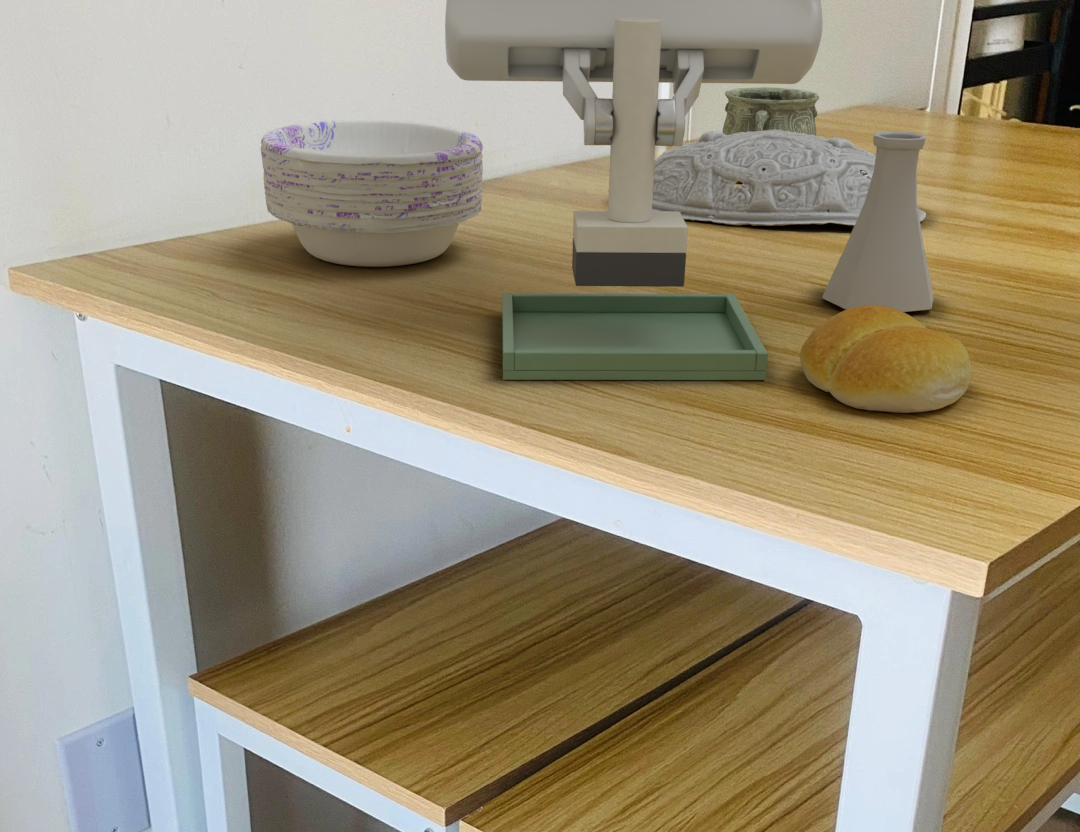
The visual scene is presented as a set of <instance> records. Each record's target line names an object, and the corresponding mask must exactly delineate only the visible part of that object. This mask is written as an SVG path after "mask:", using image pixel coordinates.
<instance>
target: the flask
mask: <svg viewBox="0 0 1080 832" xmlns="http://www.w3.org/2000/svg"><path fill="white" fill-rule="evenodd" d="M926 140H927V135H926V134H921V133H917V132H913V131H897V130H892V131H891V130H890V131H876V132H874V134H873V138H872V142H873V146H874V147H876V148H875V149H876V152H875V155H876V159H875V166H874V172H873V175H872V179H871V182H870V186H869V189H868V193H867V196H866V200H865V203H864V205H863V207H862V210H861V212H860V214H859V217H858V219H857V221H856V224H855V225H854V226H853V228H852V230H851V233H850V236H849V238H848V239H847V242H846V244H845V247H844V249H843V250H842V253H841V255H840V257H839V259H838V261H837V264H836V266H835V268H834V269H833V272H832V274H831V276H830V278H829V280H828V283H827V285H826V288H825V290H824V291H823V294H822V296H821V299H823V300H826V301H828V302H829V303H832V304H833V305H836V306H838V307H840V308H841V309H844V310H847V309H850V308H854V307H859V306H871V305H878V306H885V307H890V308H893V309H896V310H899V311H901V312H904V313H906V312H917V311H928V310H932V308H933V303H934V291H933V286H932V279H931V276H930V275H931V274H930V269H929V265H928V260H927V254H926V249H925V243H924V238H923V237H924V236H923V231H922V225H921V222H920V218H919V212H918V208H919V206H918V191H917V190H918V181H917V179H918V175H917V174H918V173H917V170H918V163H919V155H920V151H921V150H922V149H923V148H924V147H925V144H926Z"/></svg>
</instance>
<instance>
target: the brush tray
mask: <svg viewBox="0 0 1080 832" xmlns="http://www.w3.org/2000/svg"><path fill="white" fill-rule="evenodd" d="M501 298H502V299H501V301H502V302H501V303H502V304H501V305H502V307H501V308H502V313H501V315H502V317H501V318H502V319H501V320H502V321H501V322H502V380H504V381H766V377H767V367H768V357H769V356H768V355H769V353H768V351H767V349H766V347H765V346H764V344H763V342H762V341H761V338H760V337H759V335H758V333H757V331H756V330H755V328H754V326H753V324H752V322H751V321H750V319H749V317H748V316H747V314H746V312H745V310H744V309H743V306H742V305H741V304H740V301H739V300H738V298H737V296H736V295H735V293H726V294H724V293H538V292H537V293H533V292H532V293H531V292H530V293H523V292H522V293H521V292H520V293H517V292H516V293H514V292H513V293H510V292H509V293H508V292H503V293H501Z"/></svg>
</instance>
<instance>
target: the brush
mask: <svg viewBox="0 0 1080 832" xmlns="http://www.w3.org/2000/svg"><path fill="white" fill-rule="evenodd" d="M661 30H662V20H661V19H658V18H649V17H621V18H616V19H615V39H614V66H613V82H612V94H611V95H612V96H611V99H612V101H613V114H612V116H613V136H612V144H611V145H610V148H609V149H610V151H609V155H610V156H609V173H608V175H609V178H608V199H607V200H608V203H607V210H573V217H572V218H573V219H572V258H571V260H572V261H571V268H572V273H573V274H572V275H573V279H574V285H575V286H576V287H651V288H652V287H655V288H656V287H659V288H660V287H663V288H665V287H667V288H668V287H669V288H671V287H673V288H676V287H679V288H680V287H681V288H683V287H684V286H685V278H686V262H687V249H688V248H687V246H688V236H689V235H688V234H689V233H688V232H689V226H688V224H687V223H686V220H685V219H683V217H682V215H681V214H680V212H679V211H652V199H653V181H654V162H655V159H656V146H655V140H656V124H657V104H658V99H659V87H660V86H659V85H660V83H659V68H660V49H661Z"/></svg>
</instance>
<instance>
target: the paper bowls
mask: <svg viewBox="0 0 1080 832" xmlns="http://www.w3.org/2000/svg"><path fill="white" fill-rule="evenodd" d="M260 144H261V146H260V155H261V160H262V161H261V163H262V169H263V188H264V196H265V205H266V209H267V212H268V213H270V214H271V216H272V217H274V218H276V219H278V220H280V221H281V220H282V221H284V222H287V223H289V224H291V225H292V228H293V230H294V232H295V234H296V236H297V238H298V240H299V242H300V244H301V246H302V247H303V249H304V250H306V252H307V253H309V254H310V255H311V256H313V257H315V258H316V259H319V260H321V261H324V262H329V263H332V264H337V265H341V266H350V267H361V268H389V267H400V266H406V265H407V266H408V265H414V264H415V265H416V264H418V263H424V262H426V261H430V260H432V259H435V258H437V257H439V256H440V255H442V254H444V253H445V252H446V250H448V248H449V247H450V245H451V244H452V241H453V239H454V237H455V235H456V232H457V230H458V227H459V224H460V223H463V222H465V221H468V220H471V219H472V218H474V217H477V216H478V215H479V214H480V213H481V211H482V204H483V203H482V202H483V192H484V191H483V183H484V181H483V172H484V171H483V168H484V167H483V157H484V155H483V148H484V145H483V143H482V141H481V139H480V138H479V137H478V136H477V135H475V134H474V133H471V132H469V131H466V130H463V129H459V128H456V127H451V126H445V125H441V124H434V123H425V122H418V121H417V122H416V121H415V122H414V121H407V120H406V121H405V120H404V121H402V120H390V119H336V120H334V119H333V120H320V121H311V122H303V123H296V124H295V123H294V124H290V125H285V126H281V127H277V128H275V129H272V130H270V131H268V132H266V133H265V134H264V135H263V136H262V138H261V141H260Z"/></svg>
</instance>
